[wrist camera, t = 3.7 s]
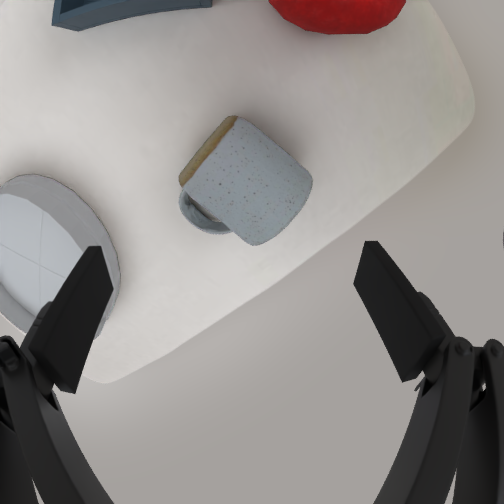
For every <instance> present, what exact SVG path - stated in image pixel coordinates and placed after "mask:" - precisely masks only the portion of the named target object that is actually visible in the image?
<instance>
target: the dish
mask: <svg viewBox="0 0 504 504" xmlns="http://www.w3.org/2000/svg"><path fill="white" fill-rule="evenodd" d="M88 246H101V247H102V251H103V254H104V258H105V261H106V265H107V268H108V272H109V275H110V278H111V281H112V285H113V288H114V290H113V293H112V295H111V297H110V300H109V302H108V304H107V307H106V309H105V311H104V314H103V316H102V319H101V321H100V324H99V326H98V329H97V332H96V334H95V337H94V339H95V338H96V337H98V336H99V335H100V333H101V331H102V328H103V326H104V324H105V321H106V320H107V319H108V318H109V316H110V313H111V311H112V309H113V307H114V303H115V301H116V298H117V296H118V293H119V285H120V270H119V265H118V260H117V254H116V251H115V249H114V247H113V245H112V242H111V240H110V238H109V235H108V233H107V230H106V229H105V228H104V226H103V225H102V223H101V222H100V221H99V219H98V218H97V216H96V215H95V213H94V212H93V210H92V209H91V208H90V207H89V206H88V205H87V204H86V203H85V202H84V201H83V200H82V199H81V198H80V197H79V196H78V195H77V194H76V193H75V192H74V191H72V190H71V189H69V188H67V187H66V186H64V185H62V184H61V183H59V182H57V181H56V180H54V179H51V178H47V177H43V176H39V175H35V174H32V175H23V176H17V177H15V178H13V179H12V180H10V181H8V182H7V183H5V184H3V185H2V186H0V312H1V313H2V314H3V315H4V316H5V317H6V318H7V319H8V320H9V321H10V322H12V323H13V324H14V325H15V326H16V327H18V328H19V329H21V330H22V331H24V332H25V333H28V331H29V329H30V327H31V326H32V323H33V322H34V320H35V319H36V316H37V314H38V313H39V311H40V309H41V308H42V307H43V306H44V305H45V304H46V303H47V302H48V301H53V300H54V298H55V296H56V295H57V293H58V291H59V290H60V288H61V287H62V285H63V283H64V282H65V280H66V279H67V277H68V275H69V274H70V272H71V271H72V269H73V268H74V266H75V265H76V263H77V262H78V260H79V259H80V257H81V256H82V254H83V253H84V252H85V250H86V249H87V247H88ZM94 339H93V340H94Z"/></svg>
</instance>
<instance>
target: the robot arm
mask: <svg viewBox="0 0 504 504" xmlns="http://www.w3.org/2000/svg"><path fill="white" fill-rule="evenodd" d="M353 284H354V286H355V288H356V290H357V292H358V294H359V295H360V297H361V299H362V301H363V303H364V305H365V307H366V309H367V311H368V313H369V315H370V317H371V318H372V320H373V322H374V324H375V326H376V328H377V330H378V332H379V334H380V336H381V338H382V340H383V342H384V345H385V347H386V349H387V351H388V353H389V355H390V357H391V359H392V361H393V363H394V366H395V368H396V370H397V372H398V374H399V376H400V379H401V381H402V382H405V381H409V380H412V379H416V378H417V377H418V375H419V374H420V373H421V371H422V370H423V372H424V374H425V377H424V378H423V379H422V381H421V382H420V383H419V384H418V385H417V387H416V388H415V390H414V391H417V390H418V389H419V387H420V390H419V394H418V397H417V400H416V404H415V407H414V410H413V413H412V416H411V419H410V422H409V425H408V428H407V431H406V433H405V436H404V439H403V441H402V444H401V447H400V449H399V451H398V454H397V456H396V458H395V461H394V463H393V465H392V467H391V470H390V472H389V474H388V476H387V478H386V480H385V482H384V484H383V486H382V488H381V490H380V492H379V494H378V496H377V498H376V500H375V501H374V503H373V504H444V503H445V501H446V498H447V495H448V493H449V490H450V487H451V484H452V481H453V478H454V475H455V471H456V468H457V471H456V481H455V489H454V497H453V502H452V504H504V346H503V345H502V344H501V343H500V342H499V341H497V340H495V339H490V340H488V341H487V343H486V344H485V345H484V347H473V346H472V344H471V343H470V342H469V341H468V340H466V339H465V338H463V337H455V335H454V334H453V332H452V331H451V329H450V328H449V326H448V325H447V323H446V322H445V320H444V319H443V317H442V316H441V315H440V314H439V312H438V310H437V309H436V308H435V306H434V305H433V303H432V302H431V300H430V299H429V298H428V297H427V296H426V295H424V294H423V293H422V292H417V291H416V290H415V289H414V287H413V286H412V285H411V283H410V282H409V281H408V279H407V278H406V276H405V275H404V274H403V273H402V271H401V270H400V269H399V267H398V266H397V265H396V264H395V262H394V261H393V260H392V258H391V257H390V256H389V255H388V253H387V252H386V251H385V250H384V248H383V247H382V246H381V245H380V243H379V242H378V241H365V243H364V247H363V250H362V255H361V258H360V262H359V265H358V269H357V273H356V276H355V280H354V283H353ZM113 290H114V288H113V285H112V281H111V278H110V275H109V272H108V268H107V265H106V261H105V258H104V254H103V251H102V247H101V246H88V247H87V249H86V250H85V252H84V253H83V254H82V256H81V257H80V259H79V260H78V262H77V263H76V265H75V266H74V268H73V269H72V271H71V272H70V274H69V275H68V277H67V279H66V280H65V282H64V283H63V285H62V287H61V288H60V290H59V291H58V293H57V295H56V296H55V298H54V300H53V301H48V302H47V303H46V304H45V305H44V306H43V307H42V308H41V309H40V311H39V313H38V314H37V316H36V319H35V320H34V322H33V323H32V326H31V327H30V329H29V331H28V333H27V335H26V336H25V338H24V340H23V342H22V344H21V347H20V348H19V346H18V345H17V344H16V342H15V341H14V339H13V338H12V337H11V336H2V337H0V504H39V503H38V500H37V496H36V492H35V489H34V485H33V481H34V483H35V486H36V488H37V490H38V492H39V494H40V496H41V498H42V500H43V502H44V504H114V503H113V501H112V500H111V499H110V497H109V496H108V494H107V493H106V491H105V490H104V488H103V487H102V485H101V484H100V482H99V481H98V479H97V477H96V476H95V474H94V473H93V471H92V469H91V467H90V466H89V464H88V462H87V460H86V459H85V457H84V455H83V453H82V452H81V450H80V448H79V446H78V444H77V442H76V440H75V438H74V436H73V434H72V432H71V430H70V428H69V425H68V423H67V421H66V419H65V416H64V414H63V412H62V409H61V407H60V405H59V402H58V400H57V397H56V394H55V393H54V391H53V390H52V388H53V385H54V383H55V385H56V386H57V387H58V388H59V389H60V391H64V392H68V393H73V394H75V393H76V390H77V387H78V383H79V380H80V377H81V374H82V371H83V368H84V365H85V362H86V359H87V356H88V353H89V350H90V348H91V345H92V342H93V339H94V337H95V334H96V332H97V329H98V326H99V324H100V321H101V319H102V316H103V314H104V311H105V309H106V307H107V304H108V302H109V300H110V297H111V295H112V293H113ZM484 383H485V384H486V389H485V390H484V391H483V389H482V385H483V384H484ZM32 479H33V481H32Z"/></svg>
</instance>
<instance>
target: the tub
mask: <svg viewBox="0 0 504 504" xmlns="http://www.w3.org/2000/svg"><path fill="white" fill-rule="evenodd" d="M207 7H212V0H55V2H54V9H53V16H52V26H56V27H61V28H65V29H69V30H73V31H78V32H79V31H82V30H85V29H88V28H91V27H95V26H98V25H101V24H105V23H109V22H113V21H117V20H121V19H125V18H130V17H135V16H140V15H145V14H151V13H157V12H164V11H172V10H181V9H192V8H207Z"/></svg>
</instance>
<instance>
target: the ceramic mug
mask: <svg viewBox="0 0 504 504" xmlns="http://www.w3.org/2000/svg"><path fill="white" fill-rule="evenodd" d="M179 182H180V185H181V186H182V188H183V190H182V192H181V194H180V198H179V206H180V209H181V212H182V214H183V215H184V216H185V218H186V219H187V220H188V221H189V222H190V223H191V224H192V225H194V226H195V227H196V228H198V229H200V230H202V231H204V232H207V233H210V234H227V233H230V232H234V233H235V234H237V235H238V236H239V237H240V238H241V239H243V240H244V241H245V242H246V243H248V244H250V245H252V246H253V245H260V244H263V243H265V242H267V241H269V240H270V239H272V238H274V237H275V236H276V235H277V234H279V233H280V232H281V231H282V230H283V229H285V228H286V227H287V226H288V225H289V223H290V222H291V221H292V220H293V219H294V218H295V216H296V215H297V214H298V213H299V212H300V210H301V209H302V208H303V206H304V205H305V203H306V201H307V199H308V197H309V194H310V191H311V188H312V182H313V181H312V176H311V175H310V173H309V172H308V171H307V170H306V169H305V168H304V167H302V166H301V165H300V164H299V163H298V162H297V161H296V160H294V159H293V158H292V157H291V156H290V155H289V154H288V153H287V152H285V151H284V150H283V149H282V148H281V147H279V146H278V145H277V144H276V143H275V142H273V141H272V140H271V139H270V138H269V137H267V136H266V135H265V134H264V133H263V132H261V131H260V130H259V129H258V128H257V127H255V126H254V125H253V124H251V123H250V122H248V121H246V120H244V119H243V118H241V117H238V116H229V117H227V118H226V119H225V120H224V121H223V122H222V123H221V125H220V126H219V127H218V128H217V129H216V130H215V131H214V133H213V134H212V135H211V136H210V137H209V138H208V140H207V141H206V142H205V143H204V144H203V146H202V147H201V148H200V149H199V150H198V152H197V153H196V154H195V155H194V157H193V158H192V159H191V160H190V162H189V163H188V164H187V165H186V167H185V168H184V169H183V171H182V172H181V173H180V175H179ZM188 195H189V196H190V197H191V198H192V199H194V200H195V201H196V202H197V203H199V204H200V205H201V206H203V207H204V208H205V209H207V210H208V211H209V212H211V213H212V214H213V215H214V216H215V217H217V218H218V219H219V220H220V221H221V222H215V221H212V220H210V219H208V218H206V217H205V216H204V215H203V214H201V213H200V212H199V211H198V210H197V209H196V208H195V206H194V205H192V204H191V203H190V201H189V197H188Z"/></svg>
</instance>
